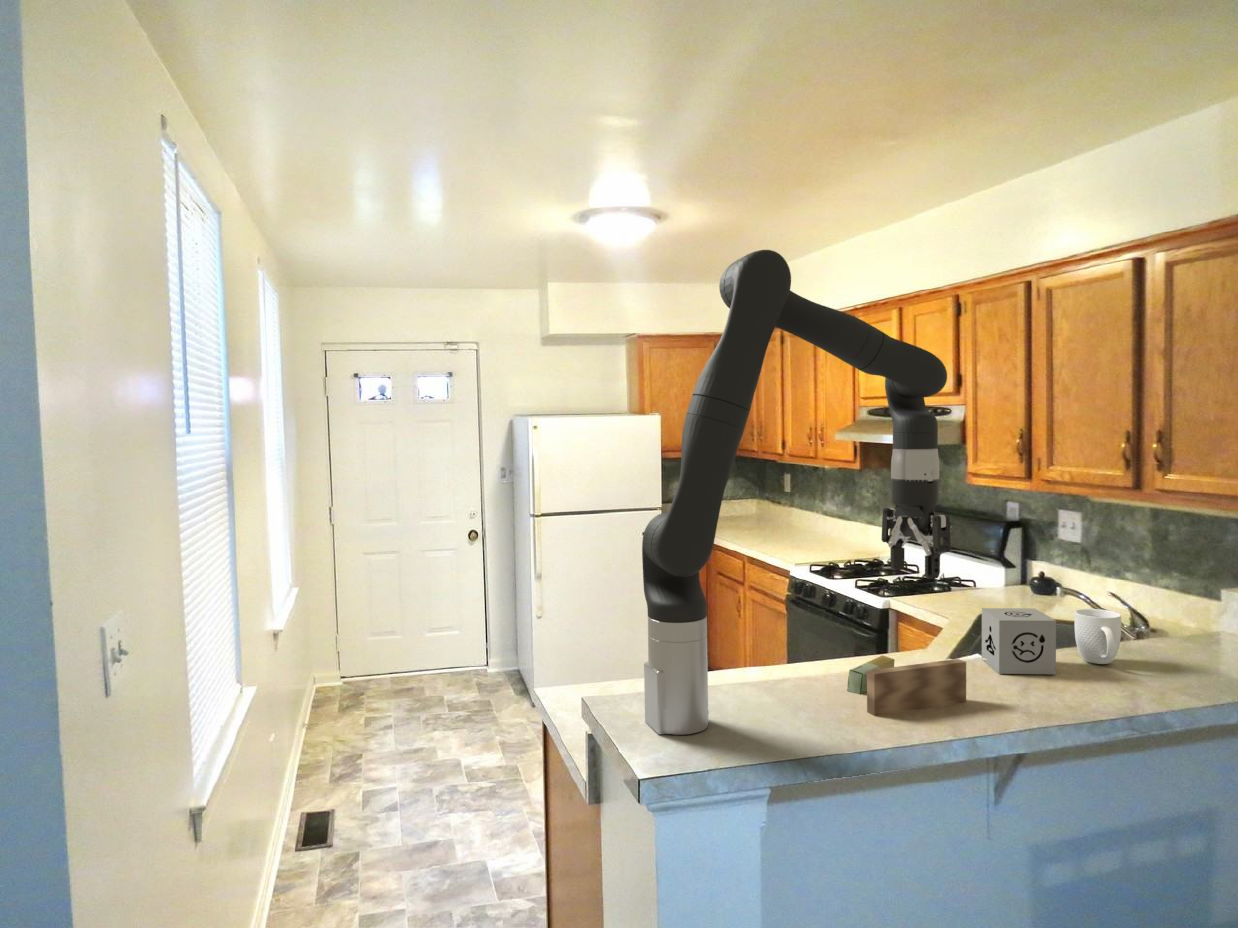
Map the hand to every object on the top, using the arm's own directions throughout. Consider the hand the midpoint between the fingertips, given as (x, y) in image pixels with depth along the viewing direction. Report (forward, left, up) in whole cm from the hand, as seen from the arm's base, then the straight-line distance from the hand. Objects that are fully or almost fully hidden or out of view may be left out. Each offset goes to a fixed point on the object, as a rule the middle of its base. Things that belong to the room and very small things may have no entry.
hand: (914, 573), depth 140 cm
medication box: (-1, +11, -22) cm, 25 cm away
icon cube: (+31, +10, -22) cm, 40 cm away
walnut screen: (-1, -2, -22) cm, 22 cm away
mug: (+47, +6, -22) cm, 52 cm away
